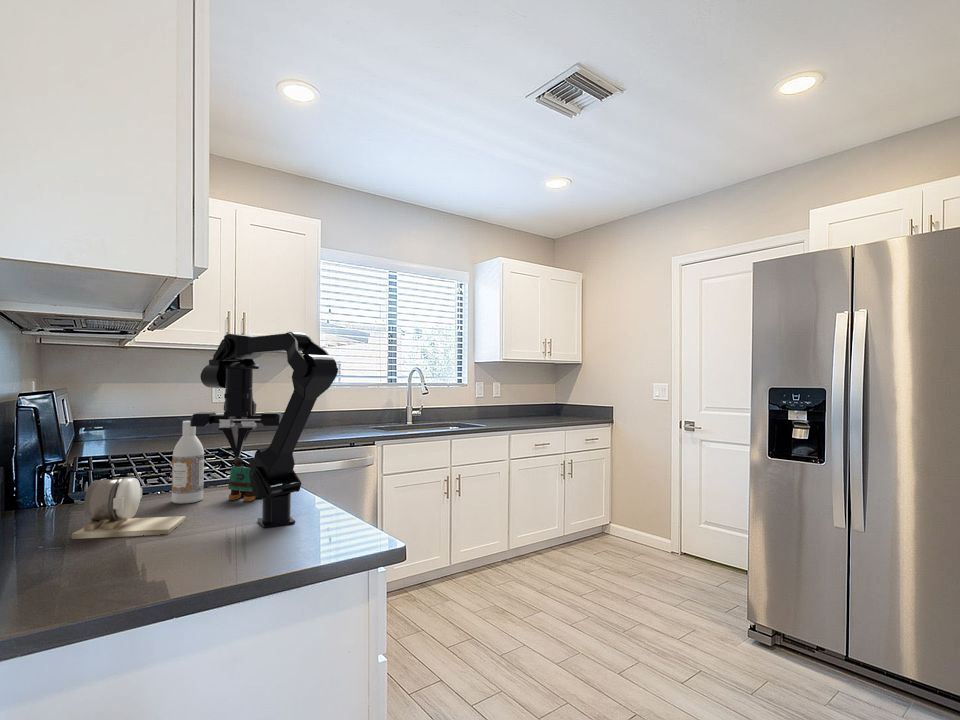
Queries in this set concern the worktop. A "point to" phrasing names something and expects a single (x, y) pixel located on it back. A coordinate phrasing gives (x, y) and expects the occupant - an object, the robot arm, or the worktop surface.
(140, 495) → the white oval slab
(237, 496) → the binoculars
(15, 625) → the worktop surface
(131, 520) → the birch board
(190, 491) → the bath foam
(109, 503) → the cylinder
